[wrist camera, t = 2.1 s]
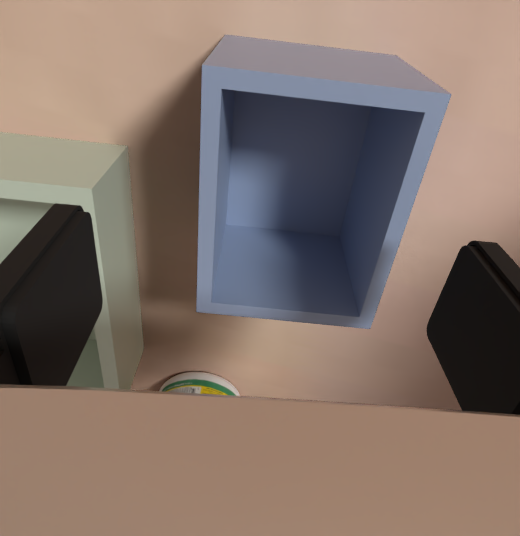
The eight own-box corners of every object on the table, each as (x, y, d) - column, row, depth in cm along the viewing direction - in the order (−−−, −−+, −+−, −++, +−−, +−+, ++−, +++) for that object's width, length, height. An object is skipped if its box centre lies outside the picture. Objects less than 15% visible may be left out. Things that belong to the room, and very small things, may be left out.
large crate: (129, 143, 18) (91, 189, 14) (145, 345, 25) (122, 411, 21) (-120, 116, 17) (-225, 155, 14) (-33, 329, 24) (-88, 392, 21)
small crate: (395, 55, 15) (451, 94, 11) (346, 241, 20) (370, 329, 15) (225, 34, 15) (202, 64, 10) (215, 227, 20) (196, 312, 15)
